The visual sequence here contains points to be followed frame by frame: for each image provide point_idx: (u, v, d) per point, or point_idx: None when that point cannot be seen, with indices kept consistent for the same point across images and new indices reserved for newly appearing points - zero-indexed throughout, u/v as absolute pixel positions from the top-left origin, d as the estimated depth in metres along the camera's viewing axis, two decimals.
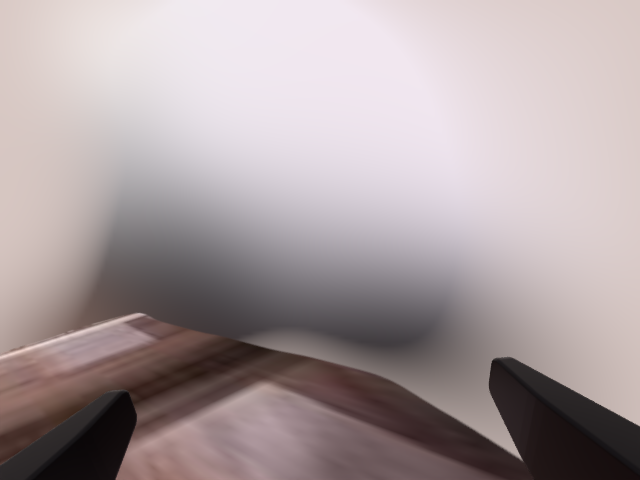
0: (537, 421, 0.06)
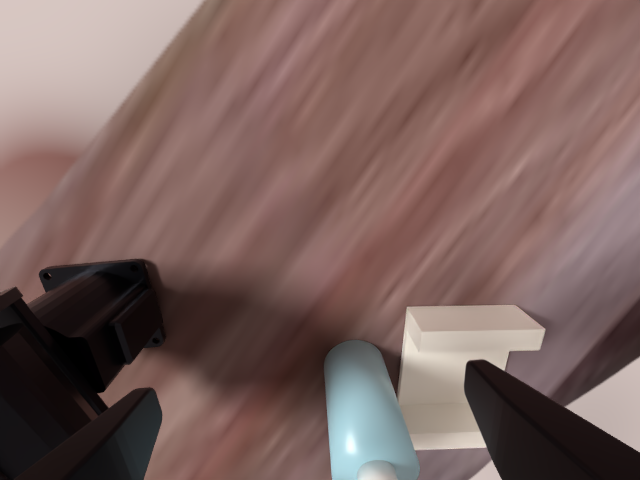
0: (505, 424, 0.06)
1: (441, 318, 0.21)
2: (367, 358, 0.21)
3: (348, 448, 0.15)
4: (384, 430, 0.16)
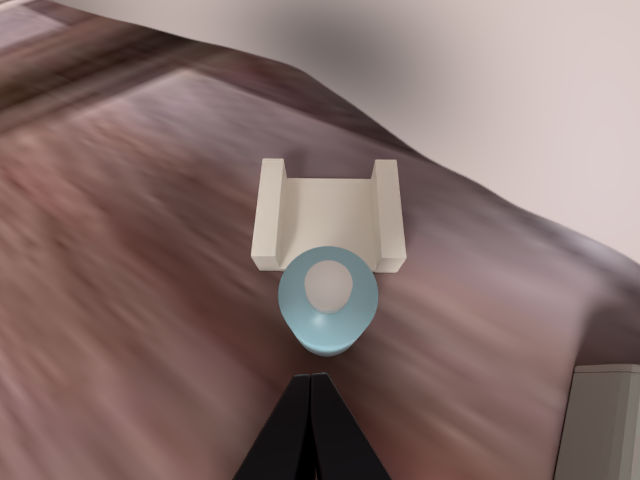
0: (313, 441, 0.06)
1: None
2: None
3: (288, 325, 0.14)
4: None
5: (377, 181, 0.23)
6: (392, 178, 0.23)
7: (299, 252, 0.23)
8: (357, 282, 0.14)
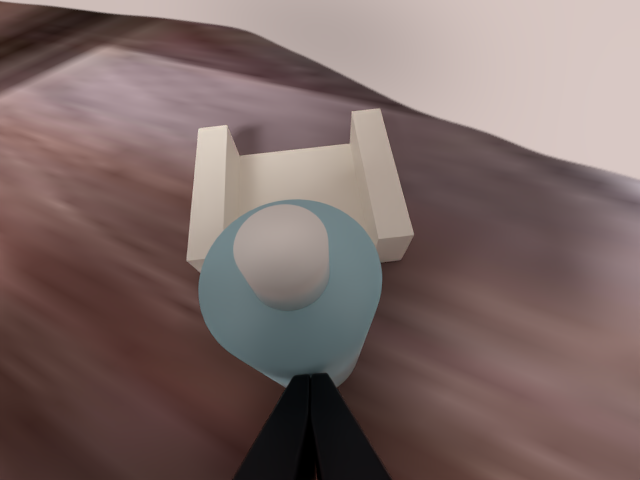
0: None
1: None
2: None
3: (218, 342, 0.07)
4: None
5: (358, 138, 0.16)
6: (378, 131, 0.16)
7: None
8: (340, 249, 0.08)
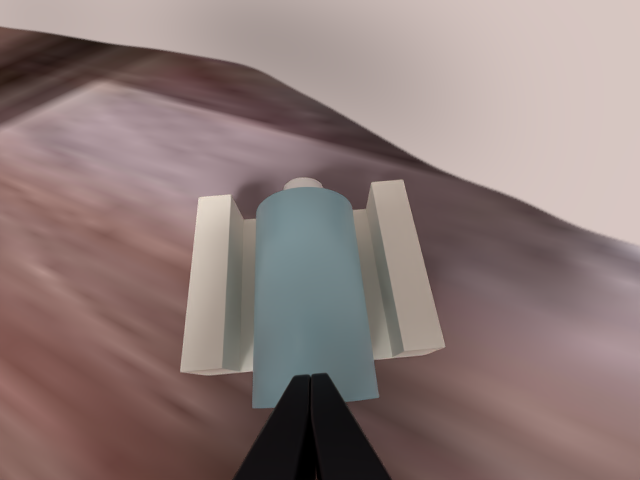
0: (313, 441, 0.06)
1: None
2: None
3: (263, 202, 0.13)
4: None
5: (378, 216, 0.14)
6: (401, 209, 0.15)
7: None
8: None
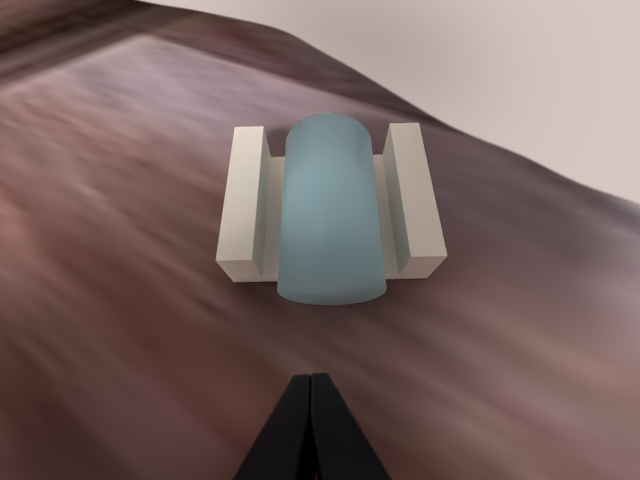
0: (313, 441, 0.06)
1: None
2: None
3: (293, 128, 0.15)
4: None
5: (395, 151, 0.16)
6: (415, 146, 0.16)
7: None
8: None
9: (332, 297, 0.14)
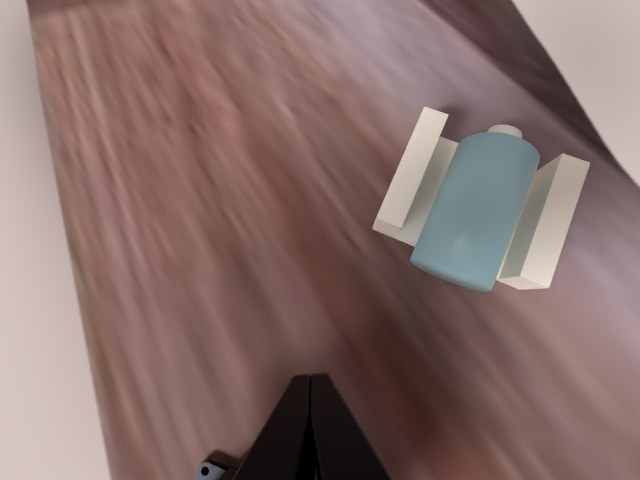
0: None
1: None
2: None
3: (477, 134, 0.18)
4: (454, 154, 0.20)
5: (552, 182, 0.18)
6: (574, 185, 0.18)
7: (421, 226, 0.21)
8: None
9: (444, 276, 0.18)
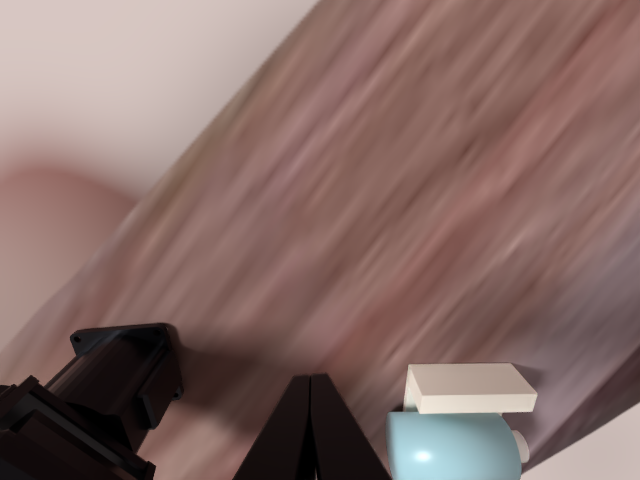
0: (312, 441, 0.06)
1: (441, 378, 0.22)
2: (420, 417, 0.22)
3: (516, 449, 0.21)
4: (495, 418, 0.22)
5: None
6: None
7: None
8: None
9: (390, 438, 0.23)
